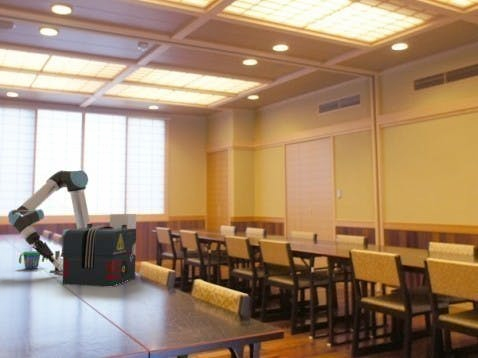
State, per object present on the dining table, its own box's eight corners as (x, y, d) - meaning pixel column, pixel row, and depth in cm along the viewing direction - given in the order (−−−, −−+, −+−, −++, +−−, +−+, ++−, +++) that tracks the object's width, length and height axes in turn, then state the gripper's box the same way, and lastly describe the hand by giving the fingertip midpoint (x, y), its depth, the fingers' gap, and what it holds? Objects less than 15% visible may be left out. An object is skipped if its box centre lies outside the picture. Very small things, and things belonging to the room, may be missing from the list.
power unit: (112, 287, 237) (114, 226, 239) (61, 284, 243) (63, 225, 244) (135, 278, 264) (136, 224, 266) (89, 276, 270) (91, 223, 272)
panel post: (58, 270, 290) (59, 250, 291) (66, 271, 286) (67, 250, 286) (46, 272, 284) (47, 251, 284) (54, 273, 279) (55, 251, 280)
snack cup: (40, 266, 309) (41, 250, 309) (47, 267, 301) (47, 251, 302) (15, 268, 298) (16, 251, 298) (21, 270, 290) (22, 253, 291)
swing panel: (57, 269, 283) (57, 257, 283) (60, 268, 284) (60, 256, 285) (75, 272, 269) (76, 260, 269) (78, 272, 270) (79, 260, 271)
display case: (108, 274, 278) (110, 214, 280) (117, 271, 288) (118, 213, 290) (126, 275, 275) (128, 214, 277) (134, 272, 286) (136, 214, 288)
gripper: (31, 239, 280) (58, 268, 278) (20, 241, 267) (48, 271, 265) (40, 230, 280) (67, 259, 278) (29, 231, 267) (57, 262, 265)
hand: (58, 265), depth 272 cm, fingers closed
